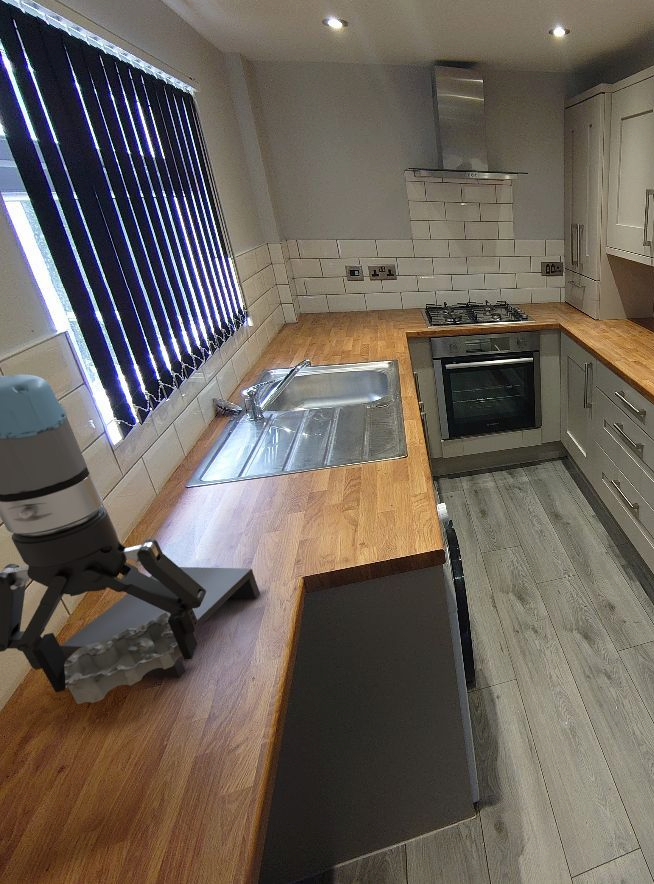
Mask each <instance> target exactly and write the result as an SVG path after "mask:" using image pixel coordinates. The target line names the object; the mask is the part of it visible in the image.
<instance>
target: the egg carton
mask: <svg viewBox="0 0 654 884" xmlns="http://www.w3.org/2000/svg"><path fill="white" fill-rule="evenodd" d="M168 619H169V616H168V615H167V613H163V614H162V615H160V616H159V617H157V618H156V619H154V620H151V621H150V622H149V623H148V624H145V625H139V627H138V628H136V629H132V628H128V629H127V630H125V631H124V632H122V633H120V634H118V635H115V636H112V637H110V638H108V639H106V640H104V641H101V642H97V643H93V644H90V645H86V646H83V647H81V648H79V649H78V650H77V651H75V652H74V653H73V654H72V655H71V656H70V657H69V658H68V659H67V660H66V661H65V664H64V669H65V683H66V688H65V689H67V688H68V690H69V692H70V693H71V694H72V695H71V696H72V697H73V698H74V700H75V702H76V704H77V705H80V704H83V703H91V704H93V703H97V702H100V701H101V700H103V699H105V697H106V695H107V694H108V693H109V692H110V691H111V690H113V689H115V688H116V687H119V686H124V685H126V686H133V685H134V684H136V683H139V682H140V681H141V680H142V679H143V678H144V677H143V676H144V675H145V674H146V673H147V672H149V671H151V670H152V669H156V668H163V669H167V668H169V667H171V666H173V665H174V664H175V661H176V660H177V659H178V658H179V657H180V658H181V657H182V656H183V655H182V653H181V651H180V648H179V646H178V644H177V641H176V639H175V637H174V634H173V632H172V630H171V627H170V625H169V623H168Z"/></svg>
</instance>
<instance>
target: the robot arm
mask: <svg viewBox="0 0 654 884" xmlns="http://www.w3.org/2000/svg"><path fill="white" fill-rule="evenodd" d="M57 398H58V397H57V396H56V394H55V392H54V390H53V388H52V386H51V384H50V383H49V382H48V381H47V380H46V379H45V378H42V377H40V376H37V375H33V374H14V375H0V519H1V521H2V523H3V525H4V526H5V528H6V530H7V531H8V532H10V533H12V535H11V540H12V542H13V545H14V546H15V548H16V550H17V552H18V554H19V555H20V557H21V559H22V561H23V563H24V564H25V565H26V566H25V565H24V566H20V565H19V564H17V563H16V564H15V563H9V564H7V565H5V566H4V567H3V568H2V569H1V570H0V652H1V653H2V652H5V651H6V650H7V649H13V650H14V649H16V650H17V651H19V652H22V653H23V655H24V657H25V658H26V660H27V661H28V663H29V665H30V667H31V668H32V669H34V670H35V671H37V670H42V671H43V673H44V675H45V677H46V678H47V680H48V681H49V683H50V685H51V687H52V688H53V690H54V692H55V693H59V692H64V691H65V690H66V689H67V688H66V683H65V669H64V664H65V661H66V660H67V658H66V656H65V654H64V652H63V650H62V649H61V647H60V643H59V641H58V639H57V638H56V636H55V633H54V632H50V633H49V632H48V633H45V634H43V633H44V632H45V630H46V628H47V626H48V624H49V622H50V620H51V618H52V617H53V614H54V613H55V611H56V609H57V607H58V606H59V604H60V602H61V600H62V598H63V596H64V595H69V596H70V597H74V596H79V595H83V594H85V593H88V592H99V591H104V590H106V589H107V588H108V589H110V590H112V591H114V592H117V593H122V592H124V593H126V594H130V595H132V596H134V597H136V598H139V599H141V600H143V601H145V602H147V603H149V604H151V605H153V606H156V607H158V608H160V609H162V610H164V611H166V612H168V613H170V614H171V615H170V617H169V619H168V623H169V625H170V627H171V630H172V632H173V634H174V637H175V639H176V641H177V644H178V646H179V648H180V651H181V653H182V655H181V656H182V658H183V660H184V661H188V660H192V659H193V657H194V654H195V651H196V649H197V647H198V645H199V644H198V641H197V638H196V636H195V632H196V631H195V629H196V626H197V623H198V621H197V618H196V616H195V613H194V611H193V608H198V607H200V606H201V603H202V601H203V599H204V596H205V594H206V590H205V589H204V588H203V587H202V586H200V585H199V584H198V583H197V582H196V581H195V580H193V579H192V578H191V577H190V576H189V575H188V574H186V573H185V572H184V571H183V570H182V569H181V568H179V567H180V566H179V565H177V564H176V563H175V562H174V561H173V560H171V559H170V558H169V557H168V556H167V555H166V554H164V553H163V550H162V548H161V547H160V545H159V542H158V540H156V539H155V538H148V539H145V541H144V542H143V543H142V544H138V545H134V546H130V547H126V546H125V545H123V543H121V542H120V541H119V537H118V534H117V531H116V528H115V525H114V524H113V521H112V519H111V517H110V514H109V512H108V510H107V508H105V507H104V506H102V505H103V504H104V500H103V498H102V496H101V494H100V492H99V489H98V488H97V487H98V486H97V485H96V483H95V481H94V479H93V477H92V475H91V472H90V471H89V468H88V466H87V463H86V460H85V458H84V455H83V453H82V450H81V448H80V445H79V443H78V441H77V439H76V436H75V434H74V431H73V428H72V426H71V424H70V422H69V419H68V417H67V411H66V410H65V407H64V406H62V403H60V402H59V400H58V399H57ZM127 560H132V561H134V562H135V565H136V566H142V568H143V569H144V570H145V571H146V572H147V573H148V574H149V575H150V576H153V577H154V578H156V579H157V580H158V581H159V582H158V581H156V580H154V579H152V578H150V576H148V575H146V574H144V573H142V572H140V571H139V568H138V567H136V566H134V565H133V564H130V563H128V562H127ZM120 574H121V576H122V577H121V578H119V576H120ZM30 580H31V581H34V582H36V583H38V584H41V585H43V586H44V587H47V588H46V590H45V592H44V594H43V596H42V597H41V599H40V601H39V604H38V606H37V607H36V610H35V612H34V613H33V615H32V616H31V619H30V621H29V623H28V625H27V626H26V628H25V630H21V626H22V618H23V611H24V610H23V609H24V603H25V595H26V594H25V593H26V587H27V586H26V585H27V583H28V582H30ZM194 631H195V632H194ZM42 634H43V636H42Z"/></svg>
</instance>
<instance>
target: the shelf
mask: <svg viewBox="0 0 654 884" xmlns="http://www.w3.org/2000/svg"><path fill="white" fill-rule="evenodd" d="M178 567H179V568H181V569H182V570H183V571H184V572H185V573H186V574H188V575H189V576H190V577H191V578H192V579H193V580H195V581H196V582H197V583H198V584H199V585H200V586H202V587H203V588H204V589H205V590H206V594H205V596H204V599H203V601H202V603H201V606H200V607H198V608H193V611H194V613H195V616H196V618H197V621H198V623H197V626H196V629H195V631H194V633H195V632H196V631H197V630H198V629H199V628H200V627H201V626H202V625H203V624H204V623H205V622H206V621H207V620H208V619H209V618H210V617H211V616H212V615H213V614H214V613H215V612H216V611H217V610H218V609H219V608H221V606H222V605H224V604H225V603H226V602H227V601H228V599H257V598H258V597H259V596H260V595H261V592H260V589H259V586H258V583H257V579H256V577H255V575H254V572H253V569H252V568H245V567H244V568H243V567H242V568H240V567H201V566H200V567H199V566H198V567H195V566H193V567H192V566H178ZM149 577H150V578H152V579H154V580H156V581H158V580H157V579H156V578H154V577H153V576H152V575H150V576H149ZM158 582H159V581H158ZM163 613H167V615H168V616H169V617H170V615H171V614H170V613H168V612H166V611H164V610H162V609H160V608H158V607H156V606H153V605H151V604H149V603H147V602H145V601H143V600H141V599H139V598H136V597H134V596H132V595H130V594H128V593H126V594H125V595H124V596H123V597H122V598H120V599H119V600H118V601H116V602H115V603H114V604H112V605H111V606H110V607H108V608H107V609H106V610H104V611H103V612H102V613H100V614H99V615H98V616H97V617H96V618H94V619H93V620H92V621H90V622H89V623H88V624H87V625H85V626H83V628H81V629H80V630H79V631H77V632H76V633H75V634H73V635H72V636H70V638H68V639H67V640H66V641H64V642H63V643H61V645H60V644H59V645H60V647H61V649H62V650H63V652H64V654H65V656H66V658H67V659H68V658H69V657H70V656H71V655H72V654H73V653H74V652H75V651H77V650H78V649H79V648H81V647H83V646H86V645H90V644H93V643H97V642H101V641H104V640H106V639H108V638H110V637H112V636H115V635H118V634H120V633H122V632H124V631H125V630H127V629H128V628H132V629H136V628H138V627H139V625H145V624H148V623H149V622H150V621H151V620H154V619H156V618H157V617H159V616H160V615H162V614H163ZM182 661H183V660H182V659H181V656H180V657H179V658H178V659H177V660H176V661H175V664H174V665H173V666H171V667H169V668H167V669H163V668H156V669H152V670H151V671H149V672H147V673H146V674H145V675H144V676H143V677H142V678H144V677H145V678H171V679H173V678H174V679H180V678H182V676H183V675H184V674H185V673H186V672H187V670H186V668H185V666H184V664H183V662H182Z"/></svg>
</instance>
